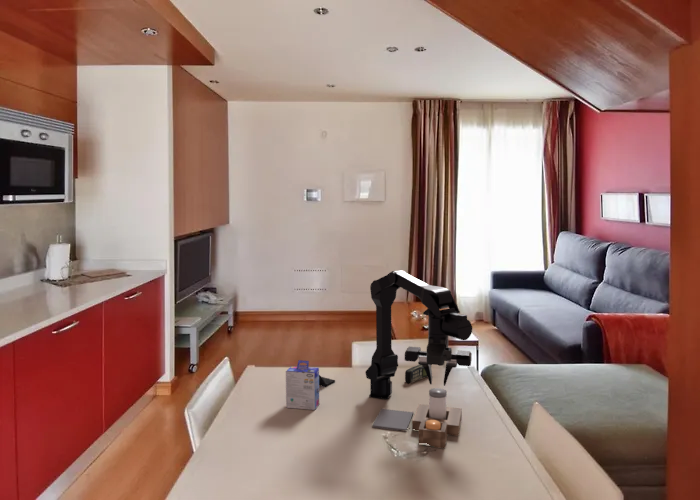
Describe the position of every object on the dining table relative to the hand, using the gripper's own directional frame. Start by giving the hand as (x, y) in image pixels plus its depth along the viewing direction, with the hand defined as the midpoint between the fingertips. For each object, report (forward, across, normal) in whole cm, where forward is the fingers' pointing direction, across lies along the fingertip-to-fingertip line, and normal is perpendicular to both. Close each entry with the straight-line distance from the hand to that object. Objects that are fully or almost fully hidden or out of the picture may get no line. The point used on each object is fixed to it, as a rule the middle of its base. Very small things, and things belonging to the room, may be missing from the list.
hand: (437, 384), depth 146 cm
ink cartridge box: (+12, -43, +2) cm, 45 cm away
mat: (+12, -13, -1) cm, 18 cm away
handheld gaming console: (+13, -46, +22) cm, 53 cm away
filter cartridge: (+12, 0, 0) cm, 12 cm away
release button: (+11, 0, -11) cm, 15 cm away
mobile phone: (+12, -11, +37) cm, 40 cm away
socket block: (+12, 0, -4) cm, 13 cm away
